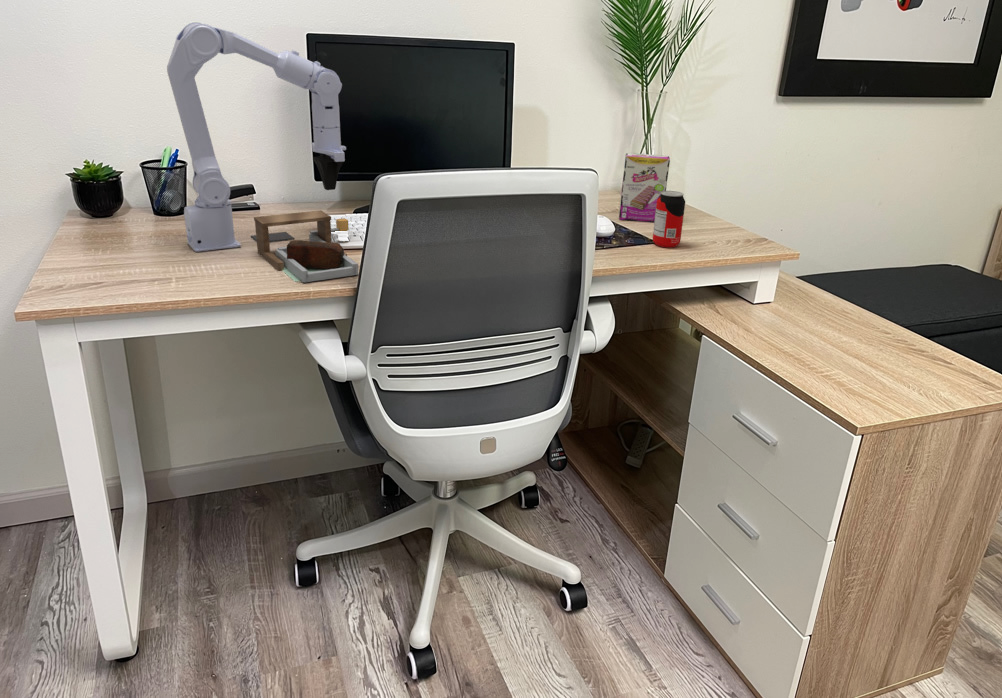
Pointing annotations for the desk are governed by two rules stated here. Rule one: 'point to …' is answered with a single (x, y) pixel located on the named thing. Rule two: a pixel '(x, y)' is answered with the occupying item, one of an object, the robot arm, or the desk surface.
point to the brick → (316, 254)
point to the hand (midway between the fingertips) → (329, 189)
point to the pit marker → (276, 236)
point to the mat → (305, 268)
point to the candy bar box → (642, 185)
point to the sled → (305, 276)
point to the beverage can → (668, 219)
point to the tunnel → (285, 219)
